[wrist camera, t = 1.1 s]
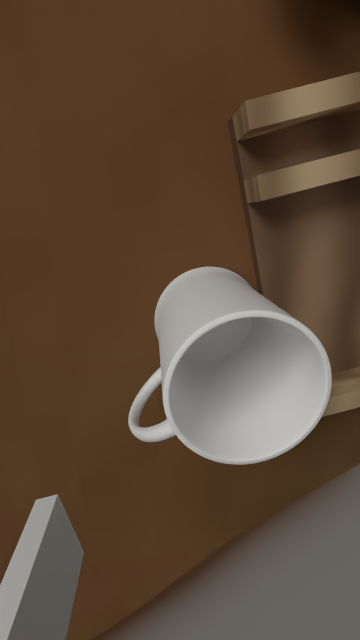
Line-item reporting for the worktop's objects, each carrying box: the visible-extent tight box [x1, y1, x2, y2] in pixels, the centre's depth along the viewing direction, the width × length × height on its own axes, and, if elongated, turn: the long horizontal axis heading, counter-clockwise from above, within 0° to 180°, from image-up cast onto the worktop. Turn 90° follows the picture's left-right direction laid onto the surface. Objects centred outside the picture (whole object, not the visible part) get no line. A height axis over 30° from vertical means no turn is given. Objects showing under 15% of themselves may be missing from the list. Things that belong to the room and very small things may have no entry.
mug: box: [128, 267, 332, 464], centre depth 21 cm, size 12×8×12 cm
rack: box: [228, 72, 360, 417], centre depth 24 cm, size 14×22×4 cm, turn 14°
